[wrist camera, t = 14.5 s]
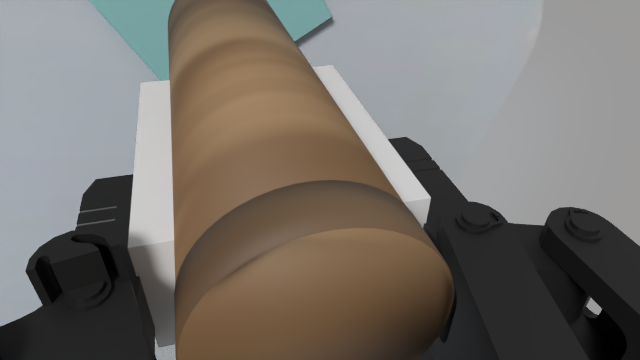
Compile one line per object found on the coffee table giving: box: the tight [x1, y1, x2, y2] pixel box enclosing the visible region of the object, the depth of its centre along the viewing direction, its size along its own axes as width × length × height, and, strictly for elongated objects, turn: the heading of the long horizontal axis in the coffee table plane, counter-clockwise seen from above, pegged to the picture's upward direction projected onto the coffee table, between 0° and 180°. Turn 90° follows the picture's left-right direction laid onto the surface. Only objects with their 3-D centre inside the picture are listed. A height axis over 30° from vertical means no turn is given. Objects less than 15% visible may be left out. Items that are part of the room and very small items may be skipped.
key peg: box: [168, 0, 454, 360], centre depth 12 cm, size 4×4×14 cm
